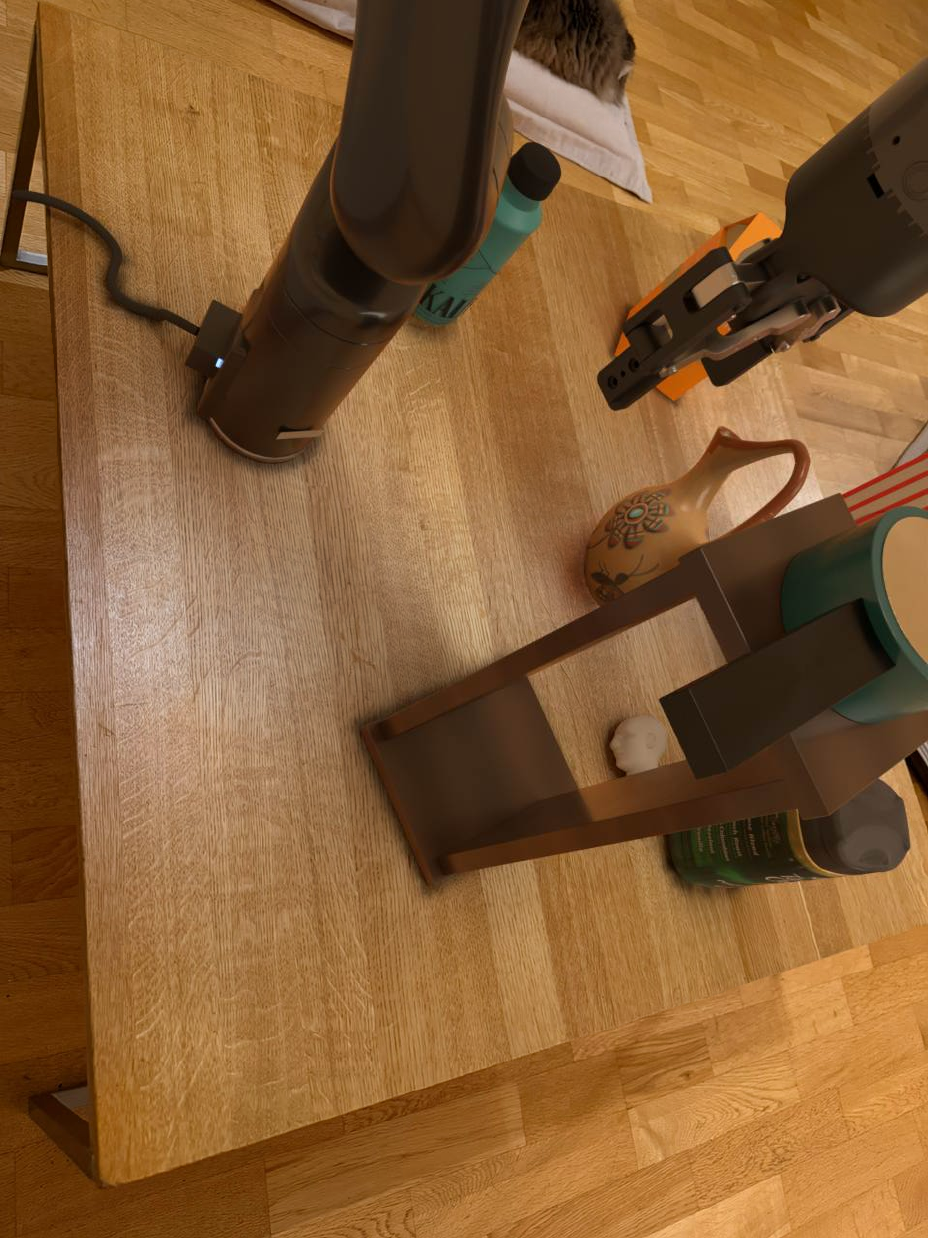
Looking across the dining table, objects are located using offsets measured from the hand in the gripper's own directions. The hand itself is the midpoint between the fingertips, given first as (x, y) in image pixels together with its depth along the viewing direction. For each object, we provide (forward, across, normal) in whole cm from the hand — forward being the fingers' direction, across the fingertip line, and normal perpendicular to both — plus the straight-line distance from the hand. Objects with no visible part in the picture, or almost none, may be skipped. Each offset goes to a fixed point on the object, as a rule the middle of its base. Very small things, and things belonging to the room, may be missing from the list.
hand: (661, 382), depth 50 cm
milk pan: (-4, +6, +16) cm, 17 cm away
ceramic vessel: (+34, -23, +5) cm, 41 cm away
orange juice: (+34, -44, -16) cm, 58 cm away
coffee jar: (+33, -20, +32) cm, 50 cm away
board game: (+33, -38, +18) cm, 54 cm away
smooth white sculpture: (+34, -16, +21) cm, 43 cm away
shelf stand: (+33, -1, +16) cm, 37 cm away
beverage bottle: (+34, -17, -25) cm, 45 cm away
